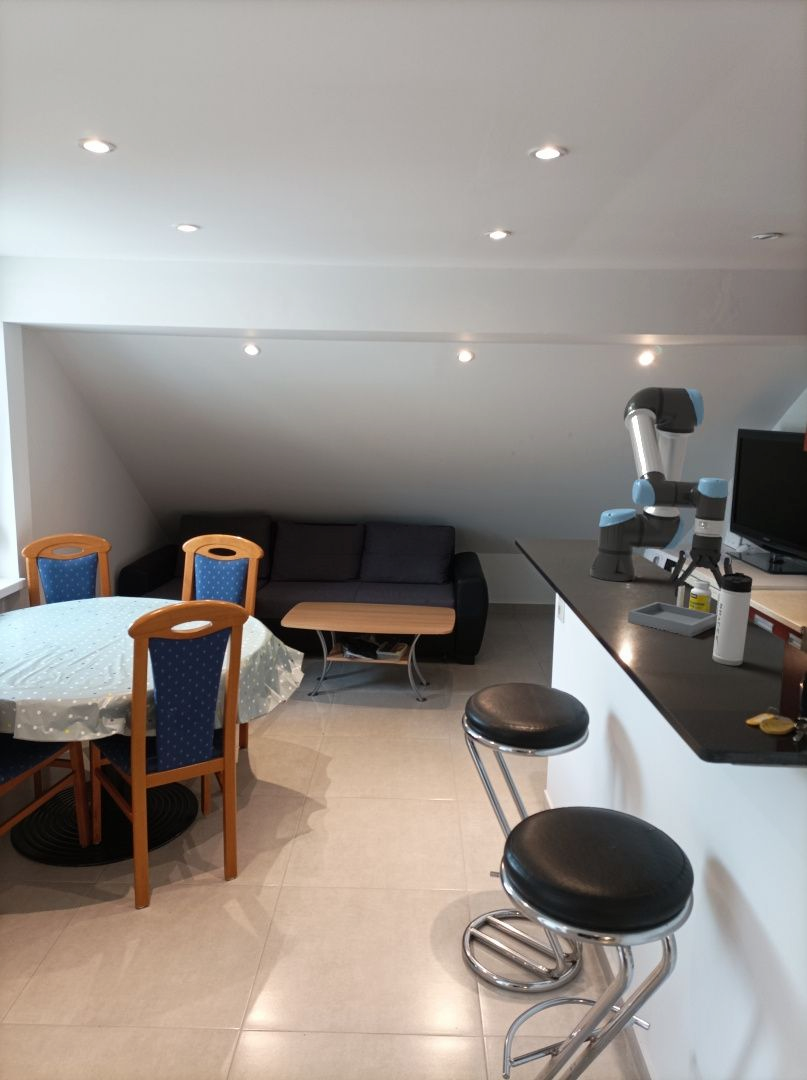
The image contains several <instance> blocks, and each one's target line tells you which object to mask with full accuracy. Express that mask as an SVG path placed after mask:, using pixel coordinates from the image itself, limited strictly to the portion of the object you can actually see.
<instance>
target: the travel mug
mask: <svg viewBox="0 0 807 1080" xmlns="http://www.w3.org/2000/svg"><path fill="white" fill-rule="evenodd" d="M752 586H753V577H751V576H750V575H746V574H745V573H743V572H737V571H735V572H733V573H729V574H725V573H724V574H722V585H721V591H720V593H719V594H720V599H719V607H718V616H717V624H716V626H715V634H714V642H713V650H712V651H713V652H712V660H713V661H714V662H716V663H718V664H719V665H720V664H721V665H724V666H732V667H733V666H740V665H742V664H743V661H744V652H745V651H744V650H745V645H746V636H747V628H748V620H749V614H750V605H751V598H752Z"/></svg>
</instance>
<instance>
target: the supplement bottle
mask: <svg viewBox="0 0 807 1080" xmlns="http://www.w3.org/2000/svg"><path fill="white" fill-rule="evenodd" d="M710 587H711V582H710V581H708V580H704V579H703V580H701V579H695V580H694V587H693V588H692V589H691V590H690V596H689V603H688V605H689V606H688V608H689V609H694V610H698V611H703V612H708V613H710V609H711V601H712V594H713V593H712V590H710V589H709V588H710Z"/></svg>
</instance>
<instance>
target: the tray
mask: <svg viewBox="0 0 807 1080" xmlns="http://www.w3.org/2000/svg"><path fill="white" fill-rule="evenodd" d="M627 616H628V618H627V623H629V622H631V623H630V624H633V623H635V625H638V624H639V626H642V625H644V626H643V627H646V626H649V627H648V628H650V627H653V628H652V629H654V628H657V629H656V630H659V629H661V630H660V631H663V630H666V631H665V632H667V631H669V632H668V633H671V632H673V634H675V633H678V634H677V635H680V634H681V636H684V637H689V638H693V637H695V636H696V635H699V634H701V633H704V632H705V631H708V630H710V629H713V628H716V624H717V616H718V615H717V614H716V613H713V612H712V613H711V612H709V613H708V612H703V611H698V610H694V609H689V607H684V606H683V607H679V606H677V605H675V604H674V605H673V604H669V603H664V602H660V601H655V602H652V603H650V604H647V605H643V606H639V607H637V608H634V609H631V610H629V611H628V615H627Z"/></svg>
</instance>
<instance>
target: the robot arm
mask: <svg viewBox="0 0 807 1080" xmlns="http://www.w3.org/2000/svg"><path fill="white" fill-rule="evenodd" d="M704 416H705V405H704V400H703V396H702V394H701V392H700V391H699V390H697V389H695V388H694V389H692V388H686V387H662V386H661V387H658V386H649V387H648V386H647V387H645V388H642V389H640V390H639V391H637V392H636V393H634V394H633V396H631V398H629V400H628V401H627V403H626V405H625V407H624V411H623V422H624V426H625V428H626V429H627V430H628V432H629V437H630V442H631V447H632V452H633V457H634V463H635V468H636V474H637V479H636V480H635V481H634V483H633V485H632V490H631V491H632V497H631V498H632V501H633V503H634V505H636V506H643V511H642V513H638V510H636V509H635V508H615V509H608V510H605V511H603V512H602V513H601V514H600V519H599V525H598V527H599V528H598V530H599V531H598V541H597V550H596V551H597V552H596V555H595V557H594V559H593V561H592V564H591V566H590V571H589V574H590V576H591V577H593V578H596V579H601V580H607V581H614V582H630V581H629V580H632V581H634V580H633V579H635V580H636V576H637V573H636V572H637V571H636V565H635V562H634V559H633V555H634V554H633V552H634V549H649V550H651V549H652V550H659V551H663V550H674V549H675V548H676V547H678V545H679V544H680V542H681V540H682V537H683V534H684V525H685V523H684V522H685V521H684V518H683V517H682V516H681V515H680V514H681V513H680V511H679V510H678V508H679V509H695V516H694V524H693V532H694V534H693V535H692V541H691V549H690V550H687V549H681V550H679V552H678V555H679V556H678V560H677V562H676V563H675V566H674V568H673V571H672V573H671V575H670V577H669V579H668V580H669V581H668V582H669V583H672V584H674V586H675V589H674V597H676V598H677V599H676V606H679V607H684V600H685V591H686V585H684V583H685V582H686V580H687V579H688V578H689V577H690V576H691V574H692V573H693V572H694V571H695V570H696V568H704V569H706V570H710V572H711V573H712V575H713V578H714V580H715V582H716V584H717V586H718V589H719V590H720V591H721V585H722V576H723V574H722V572H721V570H720V567H719V564H718V563H719V562H720V561H721V564H722V565H723V571H724V574H729V573H734V571H733V566H732V563H733V557H732V556H723V555H722V552H721V551H722V546H723V545H722V544H723V537H722V536H721V535H723V534H724V529H725V528H724V527H725V517H726V509H727V501H728V496H729V481H728V480H727V479H724V478H719V477H717V478H716V477H701V478H700V479H699V481H681V479H682V475H683V474H682V472H683V468H684V467H683V466H684V461H685V457H686V456H685V455H686V451H687V450H686V449H687V445H688V438H689V437H690V436H692V435H693V434H694V432H695V429H696V427H700V426H701V425H702V423H703V420H704ZM655 425H656V426H655ZM656 431H657V432H658V433H659V438H658V436H657V432H656ZM658 439H659V440H658ZM689 556H690V558H691V560H692V561H691V562H690V563H689V564H688V566H687V568H686V569H685V570H684V571H683V572H682V570H683V568H684V565H685V564H686V560H687V558H688V557H689ZM681 572H682V574H681ZM680 574H681V575H680ZM719 599H720V593H718V595H717V604H716V611H715V612H716V613H715V614H717V615H718V607H719Z"/></svg>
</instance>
